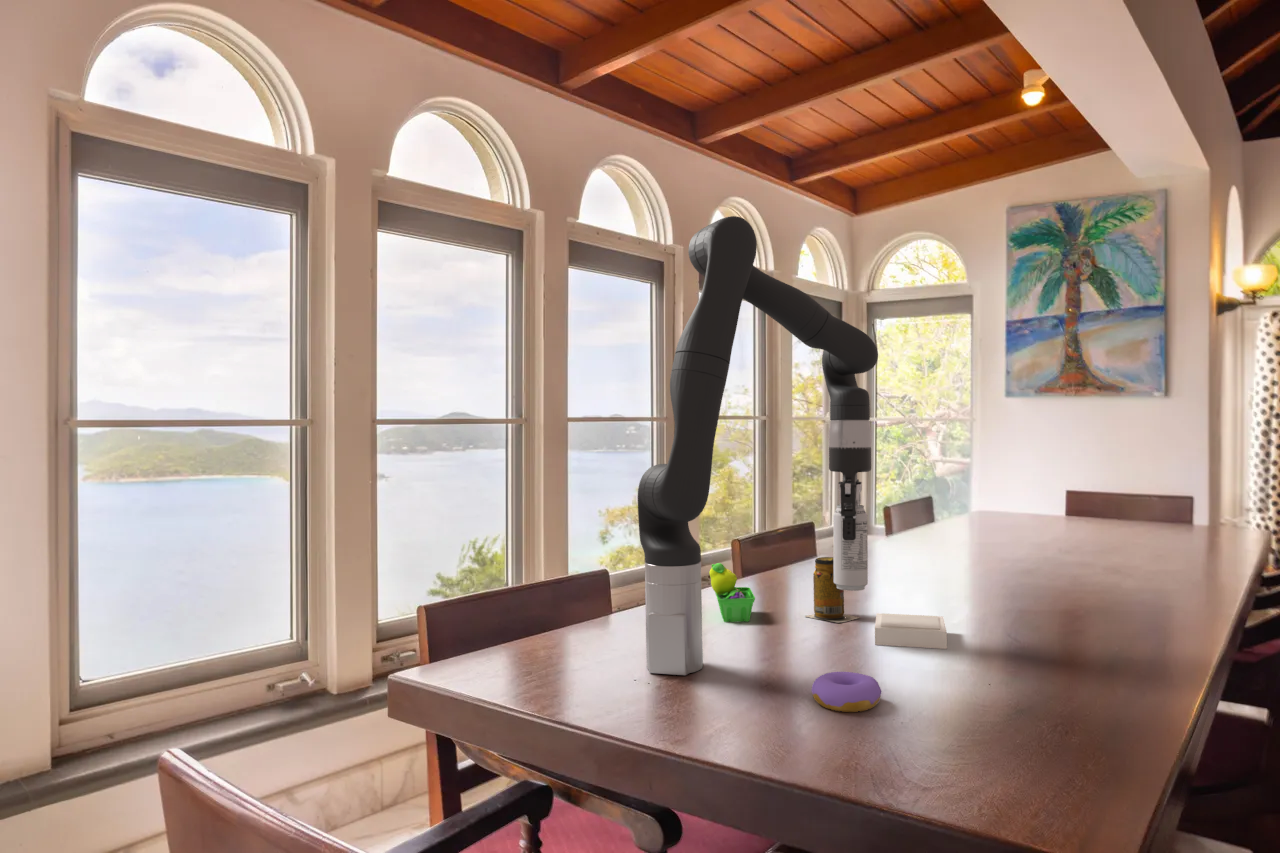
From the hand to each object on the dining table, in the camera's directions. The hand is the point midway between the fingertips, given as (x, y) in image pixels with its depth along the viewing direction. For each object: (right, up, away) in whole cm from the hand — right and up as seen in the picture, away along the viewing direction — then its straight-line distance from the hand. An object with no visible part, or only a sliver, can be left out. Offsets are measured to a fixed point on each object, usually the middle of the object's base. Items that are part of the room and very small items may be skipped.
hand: (850, 537), depth 151 cm
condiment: (+1, -19, +19) cm, 27 cm away
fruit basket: (-19, -19, +21) cm, 34 cm away
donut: (-9, -19, -34) cm, 40 cm away
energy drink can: (0, -9, 0) cm, 9 cm away
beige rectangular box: (+11, -19, +1) cm, 22 cm away
